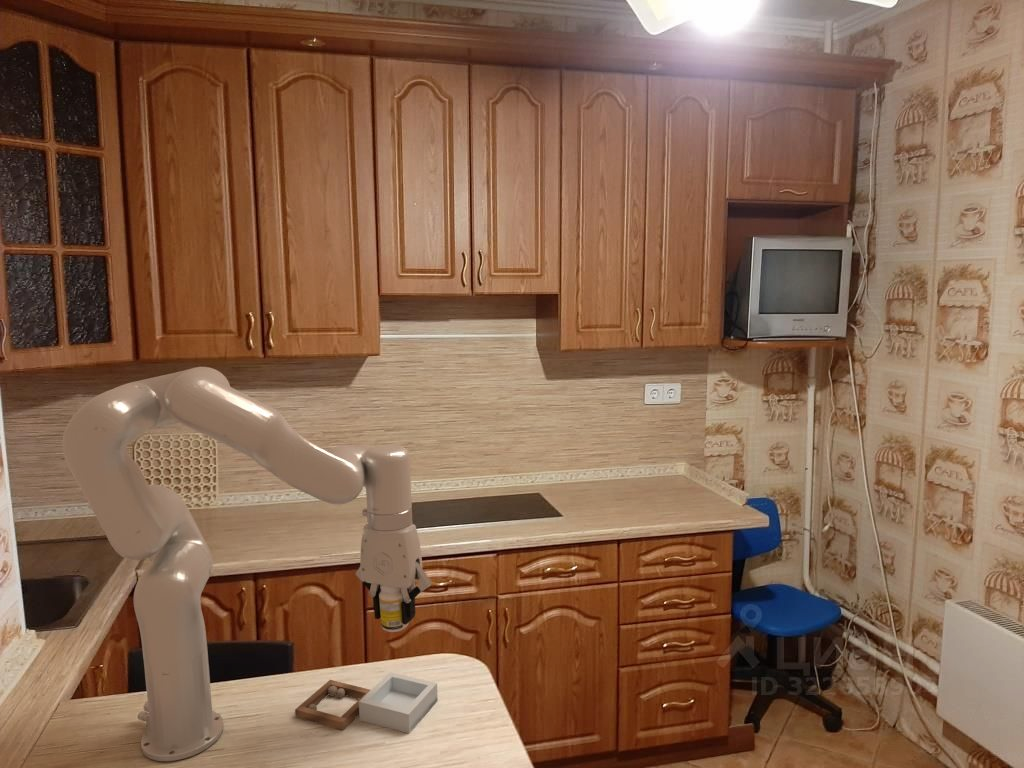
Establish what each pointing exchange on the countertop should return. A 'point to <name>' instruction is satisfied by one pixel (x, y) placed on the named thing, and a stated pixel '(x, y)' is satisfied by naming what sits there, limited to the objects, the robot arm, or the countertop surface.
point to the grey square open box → (398, 702)
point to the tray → (311, 714)
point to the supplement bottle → (391, 609)
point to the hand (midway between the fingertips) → (394, 617)
